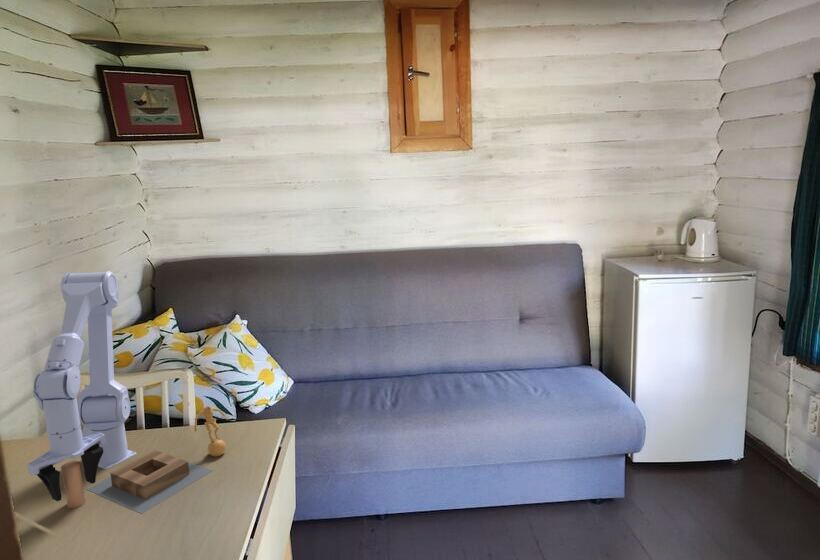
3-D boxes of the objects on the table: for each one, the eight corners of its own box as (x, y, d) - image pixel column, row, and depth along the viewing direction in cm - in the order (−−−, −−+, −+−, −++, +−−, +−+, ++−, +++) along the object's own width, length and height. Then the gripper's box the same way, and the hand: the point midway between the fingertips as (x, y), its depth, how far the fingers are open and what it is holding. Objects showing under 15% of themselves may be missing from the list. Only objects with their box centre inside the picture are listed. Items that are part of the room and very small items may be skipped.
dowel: (64, 507, 120) (57, 466, 118) (79, 499, 123) (73, 459, 121) (73, 511, 119) (67, 470, 117) (89, 503, 121) (82, 463, 119)
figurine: (206, 465, 135) (200, 416, 132) (192, 457, 139) (186, 409, 136) (237, 451, 141) (233, 404, 138) (223, 443, 145) (219, 397, 142)
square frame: (112, 485, 127) (110, 472, 126) (156, 461, 136) (155, 449, 135) (145, 499, 121) (143, 486, 121) (189, 474, 131) (188, 461, 130)
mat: (86, 491, 126) (86, 489, 126) (159, 453, 141) (159, 451, 141) (141, 515, 117) (141, 513, 117) (213, 472, 132) (213, 470, 132)
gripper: (37, 448, 109) (49, 514, 112) (110, 417, 121) (119, 477, 124) (16, 440, 113) (28, 504, 116) (90, 410, 125) (98, 469, 128)
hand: (74, 490), depth 120 cm, fingers open, 6 cm apart
